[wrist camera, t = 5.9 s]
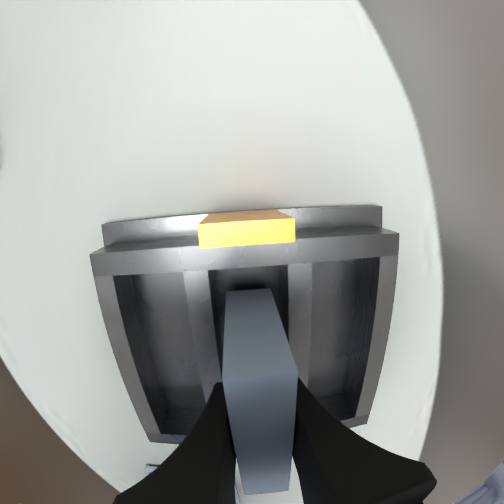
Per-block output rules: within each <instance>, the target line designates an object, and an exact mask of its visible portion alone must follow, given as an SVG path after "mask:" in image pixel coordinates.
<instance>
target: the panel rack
mask: <svg viewBox="0 0 504 504" xmlns="http://www.w3.org/2000/svg"><path fill="white" fill-rule="evenodd" d="M102 233H103V240H104V247H103V248H101V249H99V250H97V251H95V252H93V253H91V254H90V260H91V265H92V271H93V276H94V281H95V285H96V290H97V294H98V299H99V303H100V307H101V311H102V315H103V319H104V322H105V326H106V330H107V333H108V336H109V340H110V343H111V346H112V349H113V353H114V356H115V359H116V362H117V364H118V367H119V370H120V373H121V376H122V378H123V381H124V384H125V386H126V389H127V391H128V394H129V396H130V399H131V401H132V404H133V406H134V408H135V411H136V413H137V415H138V418H139V420H140V422H141V424H142V426H143V428H144V431H145V433H146V435H147V437H148V439H149V441H150V442H156V443H168V444H180V443H181V442H182V441H183V440H184V438H185V437H186V436H187V434H188V433H189V431H190V430H191V428H192V427H193V425H194V424H195V422H196V421H197V419H198V418H199V416H200V414H201V412H202V411H203V409H204V407H205V405H206V403H207V401H208V399H209V397H210V395H211V392H212V390H213V387H214V384H215V383H216V382H223V381H222V369H223V346H224V326H225V308H226V291H241V290H255V289H267V288H271V291H272V295H273V298H274V301H275V304H276V307H277V310H278V313H279V316H280V319H281V322H282V325H283V328H284V331H285V334H286V337H287V340H288V343H289V346H290V349H291V352H292V355H293V359H294V362H295V365H296V368H297V371H298V377H299V378H300V379H301V381H302V382H303V383H304V385H305V386H306V387H307V388H308V390H309V391H310V392H311V393H312V394H313V395H314V397H315V398H316V399H317V400H318V401H319V402H320V403H321V404H322V405H323V406H324V407H325V408H326V409H327V410H328V411H329V412H330V413H331V414H332V415H333V416H334V417H336V418H337V419H338V420H339V421H340V422H341V423H343V424H344V425H345V426H346V427H348V428H352V427H356V426H359V425H363V424H367V421H368V417H369V414H370V411H371V407H372V404H373V400H374V397H375V393H376V389H377V385H378V381H379V377H380V373H381V369H382V365H383V360H384V355H385V350H386V345H387V340H388V334H389V329H390V323H391V316H392V309H393V302H394V294H395V285H396V276H397V264H398V250H399V233H397V232H394V231H391V230H387V229H384V228H382V206H327V207H299V208H278V209H259V210H243V211H228V212H214V213H202V214H190V215H178V216H168V217H158V218H148V219H138V220H129V221H121V222H112V223H105V224H102Z"/></svg>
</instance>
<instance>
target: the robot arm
mask: <svg viewBox="0 0 504 504" xmlns="http://www.w3.org/2000/svg"><path fill="white" fill-rule="evenodd" d="M292 456H293V459H294V462H295V466H296V469H297V472H298V476H299V480H300V485H301V491H302V496H303V502H304V504H423V502H422V501H423V500H424V499H425V498H426V497H427V496H428V495H429V494H430V492H431V491H432V490H433V489H434V488H435V486H436V483H437V481H436V479H435V477H434V475H433V474H432V472H431V471H430V469H429V468H428V467H427V466H426V465H425V463H422V462H419V461H415V460H412V459H408V458H405V457H402V456H399V455H396V454H394V453H391V452H389V451H387V450H385V449H383V448H381V447H379V446H377V445H375V444H373V443H371V442H369V441H367V440H366V439H364V438H362V437H361V436H359V435H358V434H356V433H355V432H353V431H352V430H351V429H349V428H348V427H346V426H345V425H344V424H343V423H341V422H340V421H339V420H338V419H337V418H336V417H334V416H333V415H332V414H331V413H330V412H329V411H328V410H327V409H326V408H325V407H324V406H323V405H322V404H321V403H320V402H319V401H318V400H317V399H316V398H315V397H314V395H313V394H312V393H311V392H310V391H309V390H308V388H307V387H306V386H305V385H304V383H303V382H302V381H301V379H300V378H299V377H298V379H297V397H296V413H295V427H294V439H293V451H292ZM235 467H236V453H235V448H234V443H233V438H232V432H231V427H230V422H229V416H228V411H227V405H226V399H225V393H224V387H223V382H216V383H215V384H214V387H213V390H212V392H211V395H210V397H209V399H208V401H207V403H206V405H205V407H204V409H203V411H202V412H201V414H200V416H199V418H198V419H197V421H196V422H195V424H194V425H193V427H192V428H191V430H190V431H189V433H188V434H187V436H186V437H185V438H184V440H183V441H182V442H181V443H180V445H179V446H178V447H177V448H176V449H175V450H174V452H173V453H172V454H171V455H170V456H169V457H168V458H167V459H166V460H165V461H164V462H163V463H162V464H161V465H160V466H158V467H155V466H146V467H145V471H146V472H147V474H148V475H147V476H146V477H145V478H144V479H142V480H141V481H140V482H138V483H137V484H135V485H134V486H132V487H130V488H129V489H127V490H125V491H124V492H122V493H120V494H119V495H117V496H116V498H115V500H114V502H113V504H240V501H239V497H238V493H237V490H236V486H235ZM451 504H504V462H503V463H502V464H500V465H499V466H498V467H497V468H496V469H495V470H494V471H493V472H491V473H490V475H489V476H488V477H487V478H486V479H485V481H483V482H482V483H481V484H479V485H478V486H477V487H475V488H474V489H472V490H471V491H470V492H468V493H467V494H465V495H464V496H462V497H461V498H459V499H458V500H456V501H454V502H453V503H451Z"/></svg>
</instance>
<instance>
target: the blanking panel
mask: <svg viewBox="0 0 504 504" xmlns="http://www.w3.org/2000/svg"><path fill="white" fill-rule="evenodd" d="M297 379H298V371H297V368H296V365H295V362H294V359H293V355H292V352H291V349H290V346H289V343H288V340H287V337H286V334H285V331H284V328H283V325H282V322H281V319H280V316H279V313H278V310H277V307H276V304H275V301H274V298H273V295H272V291H271V288H267V289H255V290H241V291H226V308H225V326H224V346H223V369H222V381H223V387H224V393H225V399H226V405H227V411H228V416H229V422H230V427H231V432H232V438H233V443H234V448H235V453H236V458H237V462H238V467H239V472H240V476H241V481H242V485H243V490H244V494H245V495H248V494H262V493H272V492H281V491H288V489H289V480H290V471H291V461H292V451H293V439H294V427H295V413H296V397H297Z"/></svg>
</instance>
